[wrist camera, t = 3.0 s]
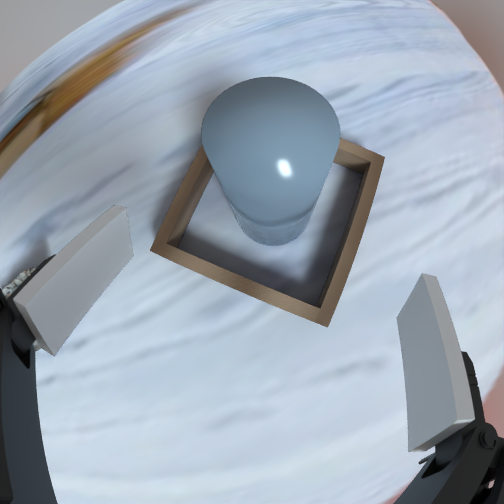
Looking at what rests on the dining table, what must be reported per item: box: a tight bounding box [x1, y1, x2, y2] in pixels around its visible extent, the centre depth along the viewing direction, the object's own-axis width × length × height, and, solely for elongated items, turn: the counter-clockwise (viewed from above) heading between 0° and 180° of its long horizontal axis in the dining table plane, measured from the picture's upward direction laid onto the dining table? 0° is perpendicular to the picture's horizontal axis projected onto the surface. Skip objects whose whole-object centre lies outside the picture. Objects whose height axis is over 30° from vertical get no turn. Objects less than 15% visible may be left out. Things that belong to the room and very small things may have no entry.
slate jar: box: [201, 77, 340, 246], centre depth 17 cm, size 6×6×12 cm
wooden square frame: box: [150, 138, 385, 327], centre depth 22 cm, size 14×14×2 cm
